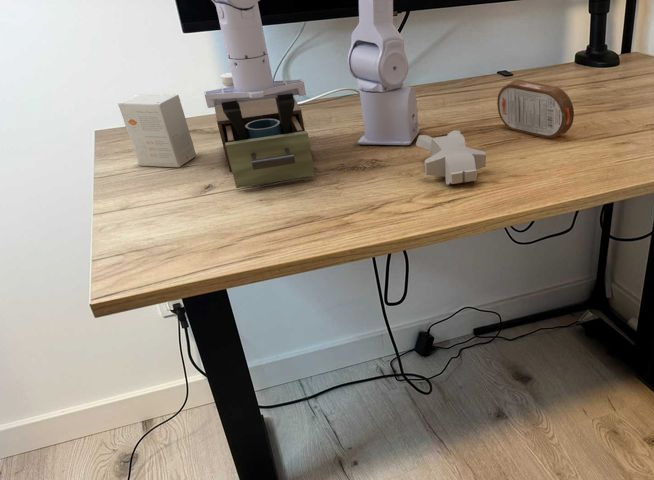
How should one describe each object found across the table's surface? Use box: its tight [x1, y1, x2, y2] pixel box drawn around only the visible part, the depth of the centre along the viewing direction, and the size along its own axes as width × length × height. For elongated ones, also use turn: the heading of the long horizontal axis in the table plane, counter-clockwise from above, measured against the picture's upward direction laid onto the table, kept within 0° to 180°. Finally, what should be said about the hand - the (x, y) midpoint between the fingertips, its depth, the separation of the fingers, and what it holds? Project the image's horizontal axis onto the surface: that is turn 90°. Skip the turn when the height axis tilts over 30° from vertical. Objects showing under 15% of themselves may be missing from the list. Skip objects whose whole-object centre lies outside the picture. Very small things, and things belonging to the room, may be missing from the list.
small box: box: [117, 93, 197, 168], centre depth 109 cm, size 8×6×10 cm
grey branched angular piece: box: [415, 130, 487, 186], centre depth 101 cm, size 10×5×15 cm
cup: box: [245, 119, 282, 139], centre depth 102 cm, size 5×5×5 cm
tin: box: [496, 79, 575, 140], centre depth 113 cm, size 15×3×8 cm, turn 47°
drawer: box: [225, 115, 316, 189], centre depth 101 cm, size 17×12×7 cm
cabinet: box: [214, 95, 306, 173], centre depth 111 cm, size 13×13×8 cm
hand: (267, 147), depth 103 cm, fingers closed on cup, 5 cm apart
